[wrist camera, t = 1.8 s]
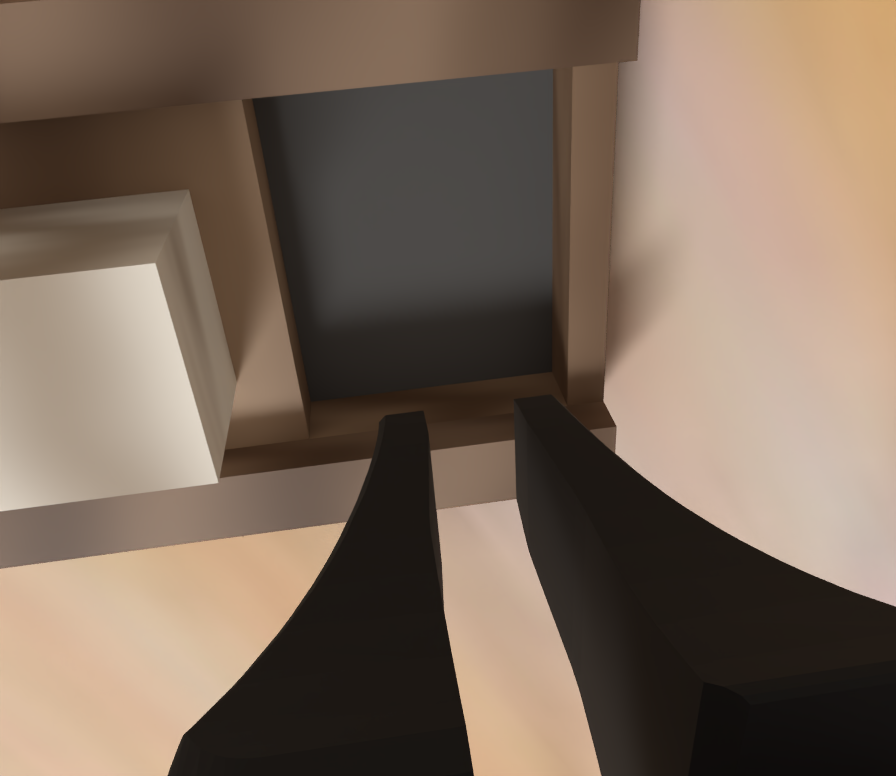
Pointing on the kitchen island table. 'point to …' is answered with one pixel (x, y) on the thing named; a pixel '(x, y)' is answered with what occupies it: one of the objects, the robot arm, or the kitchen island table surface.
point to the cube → (108, 351)
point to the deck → (339, 227)
